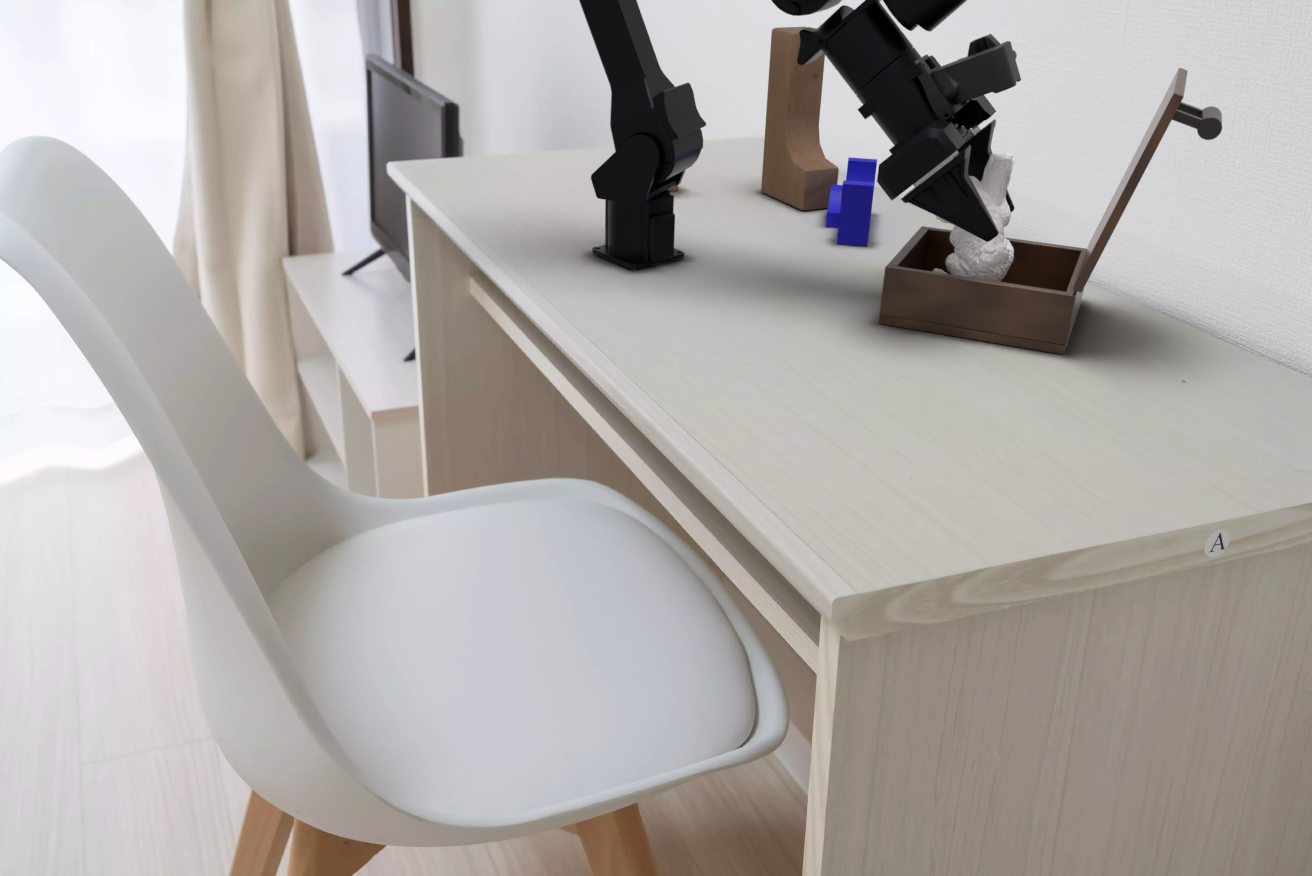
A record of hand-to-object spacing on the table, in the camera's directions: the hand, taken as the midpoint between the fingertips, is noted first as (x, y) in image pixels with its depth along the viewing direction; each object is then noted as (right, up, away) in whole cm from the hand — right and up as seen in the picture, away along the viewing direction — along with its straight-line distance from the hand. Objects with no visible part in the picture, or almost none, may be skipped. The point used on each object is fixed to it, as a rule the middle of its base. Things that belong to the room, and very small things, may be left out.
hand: (1002, 225), depth 91 cm
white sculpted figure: (-2, -6, +4) cm, 7 cm away
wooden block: (-12, +9, +36) cm, 39 cm away
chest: (-1, -7, +4) cm, 8 cm away
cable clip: (-8, +4, +26) cm, 27 cm away
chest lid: (+8, +3, -5) cm, 10 cm away
